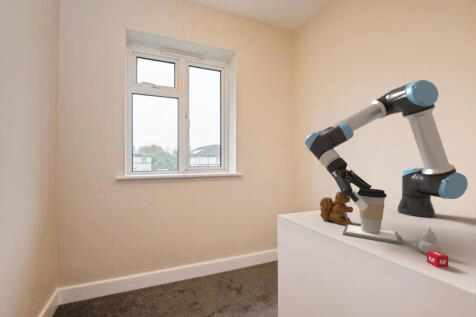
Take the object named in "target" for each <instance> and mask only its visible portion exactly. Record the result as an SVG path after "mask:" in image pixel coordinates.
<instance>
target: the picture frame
mask: <svg viewBox="0 0 476 317" xmlns="http://www.w3.org/2000/svg"><path fill="white" fill-rule="evenodd" d="M344 226H345V227H344V229H343V232H342V235H343V236H348V237H354V238H359V239H366V240H371V241H376V242H377V241H378V242H382V243H383V242H384V243H387V244H396V245H400V246H401V245H402V241H401V237H400V235H399V233H398V232H397V231H394V230H393V231H392V230H386V229H381V228H380V233H379V234H372V233H367V232H364V231H362V229H361V225H354V224H351V225H347V224H346V225H344Z"/></svg>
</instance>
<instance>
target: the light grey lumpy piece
mask: <svg viewBox="0 0 476 317" xmlns="http://www.w3.org/2000/svg"><path fill="white" fill-rule="evenodd" d="M420 237H421V238H419V237H412V238H411V240H412V246H413V247H414V248H418V249H419V250H420V252H422V253H423V254H425V255H427V251H438V252H440V253H441V252H442V246H441V245H440V244H439V243H437V240H438V237H437V236H436V235H435V232H434V231H432V227H431V226H429V228H428V229H426V230H424V231H423V232H422V233H421V235H420Z"/></svg>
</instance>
